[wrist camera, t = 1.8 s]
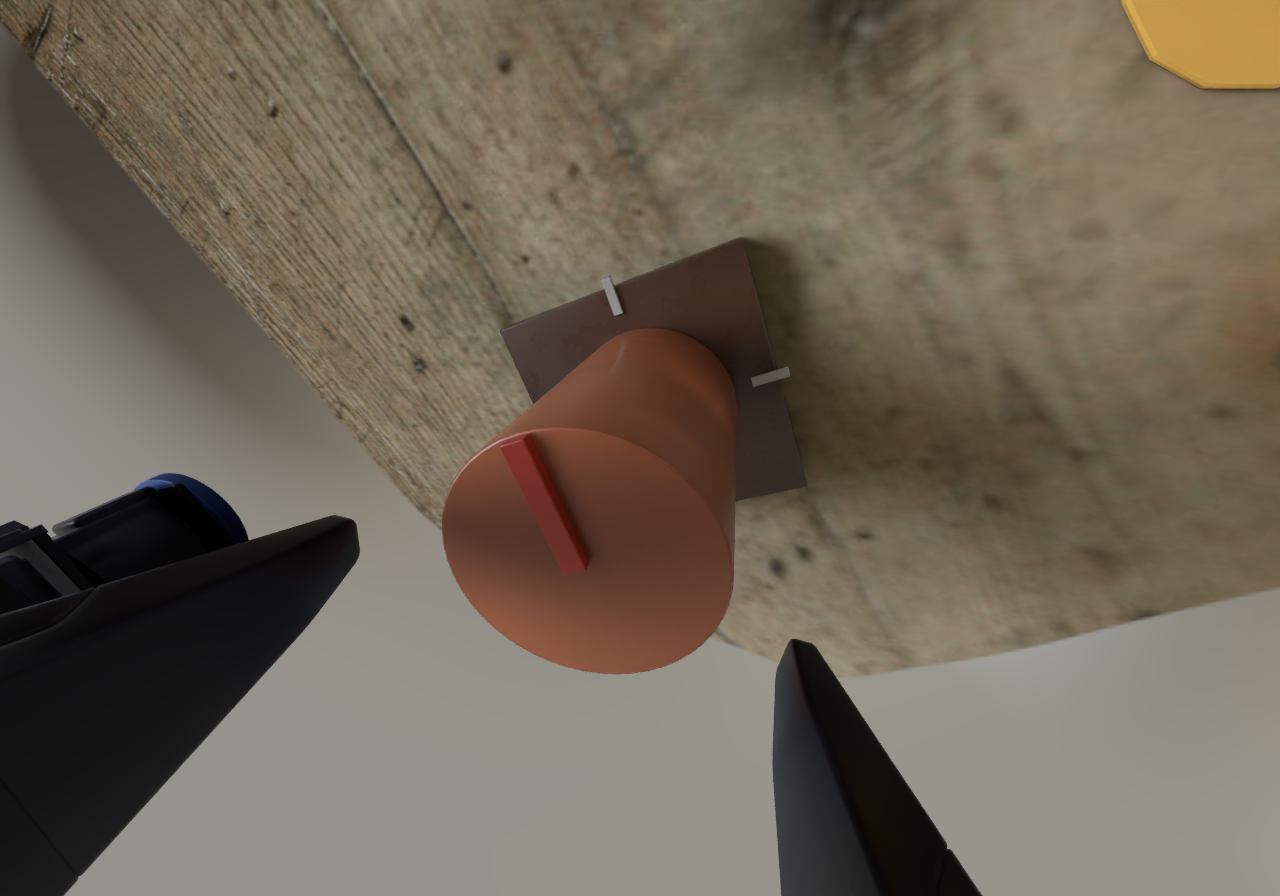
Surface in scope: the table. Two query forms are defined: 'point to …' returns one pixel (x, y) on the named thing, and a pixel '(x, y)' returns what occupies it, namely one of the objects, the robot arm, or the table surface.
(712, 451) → the copper cylinder
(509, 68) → the table surface
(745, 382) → the square base
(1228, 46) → the cup
